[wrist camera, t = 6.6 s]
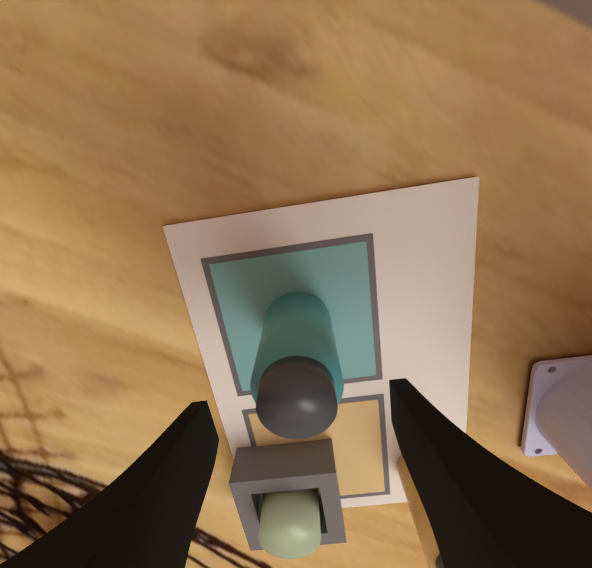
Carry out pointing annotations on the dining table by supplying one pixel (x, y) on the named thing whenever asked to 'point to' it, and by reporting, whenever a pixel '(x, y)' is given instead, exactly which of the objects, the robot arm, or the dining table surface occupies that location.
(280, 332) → the teal capped bottle
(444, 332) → the picture card
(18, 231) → the dining table surface
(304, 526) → the button
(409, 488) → the tan bottle
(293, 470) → the button collar
